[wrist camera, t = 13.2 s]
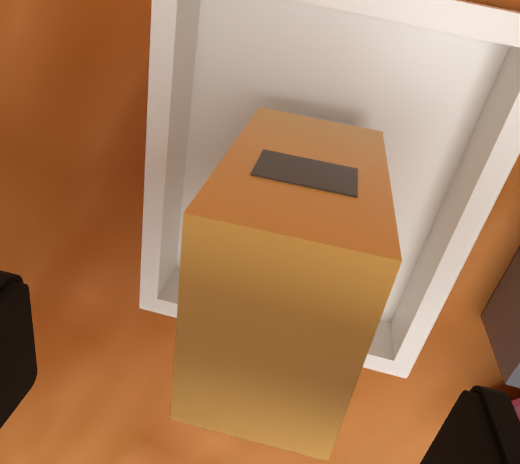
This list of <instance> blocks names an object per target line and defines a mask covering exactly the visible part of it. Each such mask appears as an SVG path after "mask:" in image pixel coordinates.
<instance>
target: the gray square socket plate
mask: <svg viewBox="0 0 520 464" xmlns="http://www.w3.org/2000/svg"><path fill="white" fill-rule="evenodd" d="M481 318H482V321H483V324H484V326H485V329H486V332H487V335H488V338H489V341H490V343H491V346H492V349H493V352H494V355H495V358H496V360H497V363H498V366H499V369H500V372H501V374H502V377H503V380H504V383H505V384H506V385H510V386H514V387H517V388H520V248H519V249H518V251H517V253H516V255H515V257H514V258H513V260H512V262H511V264H510V265H509V267H508V269H507V271H506V272H505V274H504V276H503V278H502V279H501V281H500V283H499V285H498V287H497V288H496V290H495V292H494V294H493V295H492V297H491V299H490V301H489V302H488V304H487V306H486V308H485V309H484V311H483V313H482V315H481Z"/></svg>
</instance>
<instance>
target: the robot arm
mask: <svg viewBox="0 0 520 464" xmlns="http://www.w3.org/2000/svg"><path fill="white" fill-rule="evenodd" d="M36 376H37V362H36V353H35V343H34V333H33V323H32V314H31V304H30V294H29V287H28V285H27V284H24V283H23V280H22V278H21V276H19V275H16V274H12V273H8V272H4V271H0V428H1V427H2V426H3V425H4V423H5V422H6V421H7V419H8V418H9V417H10V415H11V414H12V413H13V411H14V410H15V409H16V407H17V406H18V405H19V403H20V402H21V401H22V399H23V398H24V397H25V395H26V394H27V393H28V391H29V390H30V389H31V387H32V386H33V384H34V382H35V379H36ZM420 464H520V421H519V418H518V416H517V413H516V411H515V408H514V406H513V403H512V401H511V399H510V397H509V395H508V394H507V393H505V392H502V391H498V390H494V389H490V388H486V387H482V386H474V387H472V389H471V390H470V391H467V390H464V391H463V392H462V393H461V394H460V396H459V398H458V400H457V401H456V403H455V405H454V406H453V408H452V410H451V412H450V413H449V415H448V417H447V418H446V420H445V422H444V424H443V425H442V427H441V429H440V430H439V432H438V434H437V436H436V437H435V439H434V441H433V442H432V444H431V446H430V447H429V449H428V451H427V453H426V454H425V456H424V458H423V459H422V461H421V463H420Z"/></svg>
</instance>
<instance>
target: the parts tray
mask: <svg viewBox="0 0 520 464" xmlns="http://www.w3.org/2000/svg"><path fill="white" fill-rule="evenodd" d="M259 107H261V108H266V109H271V110H276V111H281V112H286V113H289V111H290V110H293V111H299V112H304V113H309V114H314V115H319V116H324V117H329V118H334V119H339V120H344V121H349V122H353V126H357V127H362V128H368V129H373V130H378V131H383V137H384V144H385V151H386V157H387V164H388V171H389V177H390V184H391V191H392V197H393V204H394V211H395V217H396V224H397V231H398V237H399V244H400V250H401V257H402V263H401V266H400V268H399V271H398V274H397V276H396V279H395V282H394V284H393V287H392V290H391V292H390V295H389V298H388V300H387V303H386V306H385V308H384V311H383V314H382V316H381V319H380V322H379V324H378V327H377V330H376V332H375V335H374V338H373V340H372V343H371V346H370V349H369V351H368V354H367V357H366V359H365V362H364V365H363V367H364V368H368V369H372V370H375V371H379V372H383V373H387V374H391V375H394V376H398V377H402V378H406V379H407V377H408V375H409V373H410V371H411V369H412V367H413V365H414V363H415V361H416V359H417V357H418V355H419V353H420V351H421V349H422V347H423V345H424V343H425V341H426V339H427V337H428V335H429V333H430V331H431V329H432V327H433V325H434V323H435V321H436V319H437V317H438V315H439V313H440V311H441V309H442V307H443V305H444V303H445V301H446V299H447V297H448V295H449V293H450V291H451V289H452V287H453V285H454V283H455V281H456V279H457V277H458V275H459V273H460V271H461V269H462V267H463V265H464V263H465V261H466V259H467V257H468V255H469V253H470V251H471V249H472V247H473V245H474V243H475V241H476V239H477V237H478V235H479V233H480V231H481V229H482V227H483V225H484V223H485V221H486V219H487V217H488V215H489V213H490V211H491V209H492V207H493V205H494V203H495V201H496V199H497V197H498V195H499V193H500V191H501V189H502V187H503V185H504V183H505V181H506V179H507V177H508V175H509V173H510V171H511V169H512V167H513V165H514V163H515V161H516V159H517V157H518V155H519V153H520V12H519V11H514V10H509V9H504V8H499V7H494V6H490V5H485V4H480V3H475V2H470V1H465V0H152V8H151V33H150V57H149V81H148V105H147V130H146V154H145V178H144V203H143V227H142V251H141V276H140V300H139V308H141V309H144V310H148V311H152V312H156V313H160V314H163V315H167V316H171V317H175V318H177V306H178V290H179V274H180V258H181V242H182V226H183V213H184V211H185V210H186V208H187V207H188V206H189V204H190V203H191V201H192V200H193V199H194V197H195V196H196V195H197V193H198V192H199V190H200V189H201V188H202V186H203V185H204V183H205V182H206V181H207V179H208V178H209V176H210V175H211V174H212V172H213V171H214V169H215V168H216V167H217V165H218V164H219V162H220V161H221V160H222V158H223V157H224V156H225V154H226V153H227V151H228V150H229V149H230V147H231V146H232V144H233V143H234V142H235V140H236V139H237V137H238V136H239V135H240V133H241V132H242V130H243V129H244V128H245V126H246V125H247V124H248V122H249V121H250V119H251V118H252V117H253V115H254V114H255V112H256V111H257V110H258V108H259Z"/></svg>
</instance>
